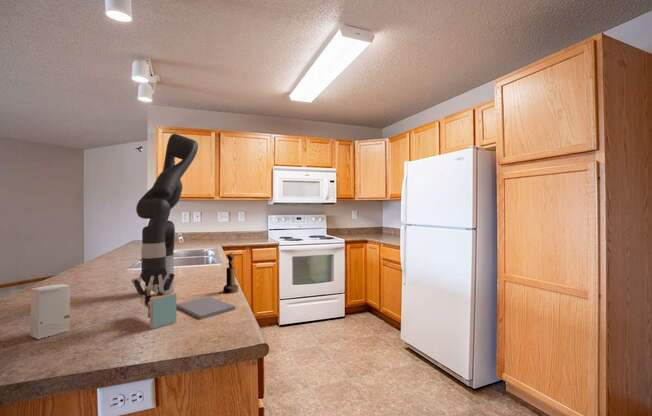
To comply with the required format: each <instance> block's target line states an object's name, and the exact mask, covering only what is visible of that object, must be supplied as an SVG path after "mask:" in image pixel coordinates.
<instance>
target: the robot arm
mask: <svg viewBox="0 0 652 416" xmlns="http://www.w3.org/2000/svg"><path fill="white" fill-rule="evenodd" d="M198 149H199V144H198V141H196V140H194V139H191V138H190V137H187V136H183V135H181V134H178V133H173V134H171V135H170V136H169V138H168V141H167V144H166V148H165V156H164V161H163V168H162V171H161V172H160V173H159V175H158V176H157V177H156V180H155V181H154V183H153V186H152V187H150V189H148V191H146V193H145V194H144V195H143V196H142V197H141V198H140V199H139V200H138V202H137V204H136V209H135V211H136V214H137V216H138V217H139V218H141V219H144V220H148V224H147V225H146V226H143V228H142V231H141V237H142V238H141V255H140V257H141V259H140V260H141V273H140V274H139V276H138V277H137V278H132V279H131V282H132V283H131V284H133V286H134V288H135V290H136V292H137V293H138V295H140V296H141V295H144V296H145V304H146V305H147V306H148V302H150V298H151V295H150V293H151V290H152V291H153V292H155V293H156V294H157V295H159V296H163V295H168V294H172V293H174V283H175V282H174V281H175V280H174V279H175V274H174V273H175V272H174V269H175V268H174V251H175V238H176V237H175V232H176V227H175V223H174V222H173V221H172V220H169V217H170V213H171V210H173V208H174V207H175V206H176V205H177V204H178V202H180V199H181V195H182V191H183V183H182V180H181V178H182V177H183V176H184V174H185V173H186V171H187V170H188V168H189V167H190V165H191V164H192V163H193V161H194V160H195V158H196V156H197V152H198ZM176 158H177V159H179V160H181V161H179V162H178V163H176ZM142 281H143V282H144V288H143V287H142V285H141V283H142Z"/></svg>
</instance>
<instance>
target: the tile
mask: <svg viewBox="0 0 652 416" xmlns="http://www.w3.org/2000/svg"><path fill="white" fill-rule="evenodd" d="M176 304H177V293H176V292H172V293H169V294H164V295H163V296H158V297H153V298H150V318H149V329H150V330H155V329H159V328H163V327H166V326H169V325H173V324H176V323H177V307H176Z"/></svg>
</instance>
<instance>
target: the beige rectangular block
mask: <svg viewBox="0 0 652 416" xmlns="http://www.w3.org/2000/svg"><path fill="white" fill-rule="evenodd" d="M150 295H151V298H153V297H158V296H159V295H157V294H156V293H155V292H153V291H152V290H151V293H150ZM140 304H142V305H143V306H144V308H147V318H148V319H150V302H148V306H147V305H146V304H145V296H144V295H141V294H140Z"/></svg>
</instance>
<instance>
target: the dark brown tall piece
mask: <svg viewBox="0 0 652 416" xmlns="http://www.w3.org/2000/svg"><path fill="white" fill-rule="evenodd" d="M234 258H235V254H234V253H233V252H229V253H227V259H228V263H227V264H228V267H226V285H223V293H225V294H233V293H237V292H238V291H239V285H237V284H236V267H234V261H233V260H234Z"/></svg>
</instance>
